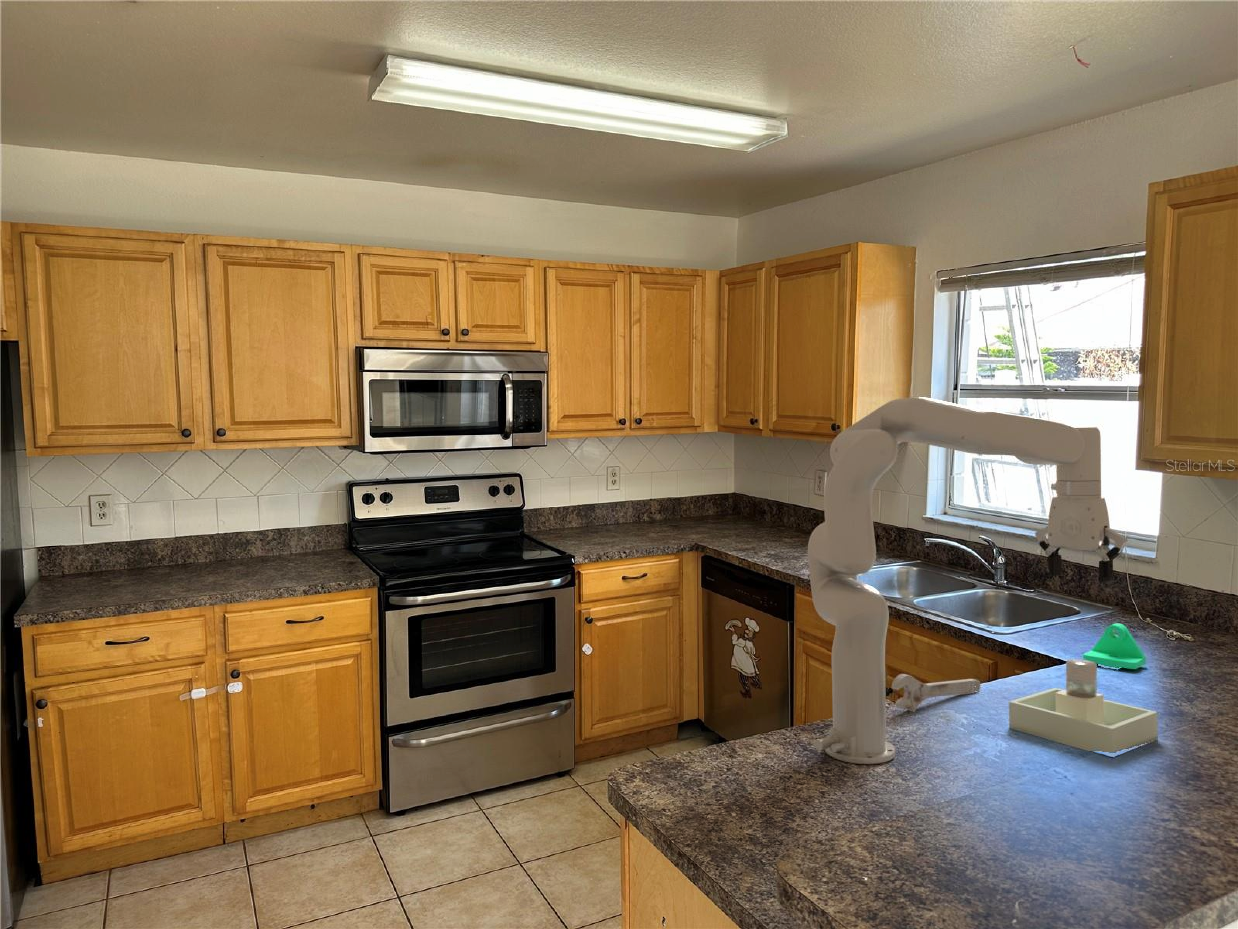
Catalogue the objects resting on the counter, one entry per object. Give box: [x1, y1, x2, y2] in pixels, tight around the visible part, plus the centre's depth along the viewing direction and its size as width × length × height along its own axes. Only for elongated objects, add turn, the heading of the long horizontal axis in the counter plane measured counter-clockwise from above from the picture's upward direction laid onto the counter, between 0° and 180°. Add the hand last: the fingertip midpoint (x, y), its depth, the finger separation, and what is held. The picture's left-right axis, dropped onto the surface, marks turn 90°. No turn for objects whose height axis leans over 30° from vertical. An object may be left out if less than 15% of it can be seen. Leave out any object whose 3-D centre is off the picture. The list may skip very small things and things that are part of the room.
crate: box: [1008, 687, 1159, 753], centre depth 164 cm, size 16×20×5 cm
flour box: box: [1055, 689, 1104, 725], centre depth 164 cm, size 6×6×7 cm
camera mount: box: [1082, 622, 1147, 670], centre depth 212 cm, size 12×8×10 cm, turn 41°
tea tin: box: [1065, 658, 1098, 698], centre depth 164 cm, size 5×5×6 cm
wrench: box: [891, 673, 981, 713], centre depth 186 cm, size 8×2×30 cm
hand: (1079, 578), depth 163 cm, fingers open, 9 cm apart
